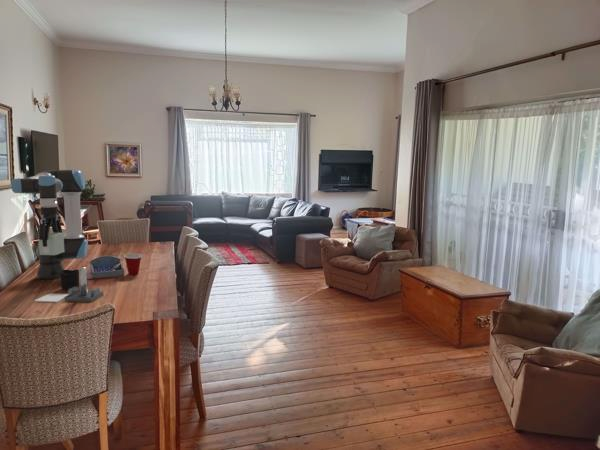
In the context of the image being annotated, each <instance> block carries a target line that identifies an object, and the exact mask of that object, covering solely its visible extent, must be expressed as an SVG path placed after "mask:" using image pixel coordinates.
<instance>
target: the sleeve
mask: <svg viewBox="0 0 600 450" xmlns="http://www.w3.org/2000/svg"><path fill="white" fill-rule="evenodd" d="M63 234H64V232H62V233H53V232H50V231H49V234H48V239H47V240H49V250H50V253H44V252H43V241H42V240H40V239H39V234H38V235H37V237H38V243H39V251H38V254H39V253H40V255H57V254H60V253H63V252H65V251H64V235H63Z"/></svg>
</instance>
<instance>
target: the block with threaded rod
mask: <svg viewBox="0 0 600 450" xmlns="http://www.w3.org/2000/svg"><path fill="white" fill-rule="evenodd" d="M78 270H79V286H80V289H79V288H78V287H72V288H70V289H68V290H67V294H68V295H67V296H65V297H64V299H63V301H65V302H85V303H92V302H94V301H95V300H97V299H98V298H101V297H103V296H104V290H101V289H100V287H96V286H95V287H94V288H92V289H90V290H88V282H87V281H88V279H87V278H88V277H87V267H86V266H81V267H79V269H78Z"/></svg>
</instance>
